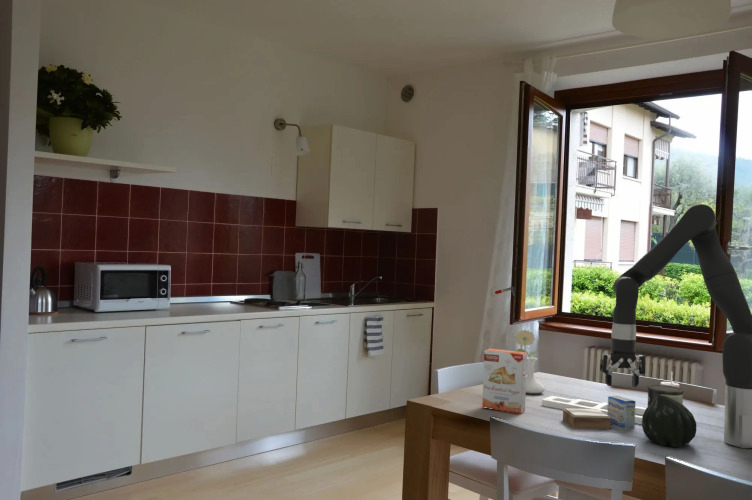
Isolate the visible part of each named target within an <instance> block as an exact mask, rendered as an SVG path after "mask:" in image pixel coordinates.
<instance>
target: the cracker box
mask: <svg viewBox="0 0 752 500" xmlns="http://www.w3.org/2000/svg"><path fill="white" fill-rule="evenodd" d="M527 353H528V352H527ZM527 353H526V351H525V352H517V350H515V351H514V350H508V349H507V350H506V349H499V348H490V347H489V348H487V349H485V350H484V353H483V379H482V380H483V381H482V403H481V405H482V407H487V408H492V409H495V410H494V411H498V410H500V411H499V412H504V411H506V412H505V413H510V412H511V413H512V414H517V415H521V414H522V413H524V412H525V411H526V394H527V393H526V377H527V365H528V364H527V357H528V355H527ZM511 413H510V414H511Z"/></svg>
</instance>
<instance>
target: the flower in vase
mask: <svg viewBox="0 0 752 500" xmlns="http://www.w3.org/2000/svg"><path fill="white" fill-rule="evenodd" d="M514 340H515V341H516V344H518V345H521V346H523V347H526V346H531V345H533V344H534V342H535V341H536V338H535V335H534V334H533V332H531V331H530V330H526V329H524V330H523V329H521V330H519V331H516V334H515V335H514ZM516 351H517V352H526V353H527V364H526V365H527V374H526V394H541V393H543V392H545V391H546V389H545V387H544V385H543V384H542V383H541V382H540V381H538V379H536V377H535V372H534V371H535V365H536V362H537V361H538V357H532V356H530V355H534V354H536V353H537V352H538V351H539V349H536V350H533V351H530V352H529V353H528V351H527V350H526V348H523V349H522V348H517V350H516Z"/></svg>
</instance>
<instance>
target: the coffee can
mask: <svg viewBox="0 0 752 500" xmlns="http://www.w3.org/2000/svg"><path fill="white" fill-rule="evenodd" d="M659 394H660V395H664V396H667V397H670V398H672V399H674V400H676V401H678V402H680V403H681V404H682V405H684V404H683V403H684V389H683V388H680V387H679V388H678V387H674V386H667V385H661V384H649V385H648V386H647V407H648V406H649V405H650V404H651V403H652V402H653V401H654V399H655V398H656V397H657V396H658V395H659Z"/></svg>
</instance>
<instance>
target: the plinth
mask: <svg viewBox="0 0 752 500" xmlns="http://www.w3.org/2000/svg"><path fill="white" fill-rule="evenodd" d="M562 421H564V422H565V423H566V424H568V426H570V427H571V428H573V429H590V430H591V429H592V430H593V429H595V430H601V429H602V430H610V429H612V427H611V425H612V423H611V418H610V417H609V416H608V415H606V414H605V413H603V412H601V411H600V410H598V409H572V408H565V410H564V409H562Z"/></svg>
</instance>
